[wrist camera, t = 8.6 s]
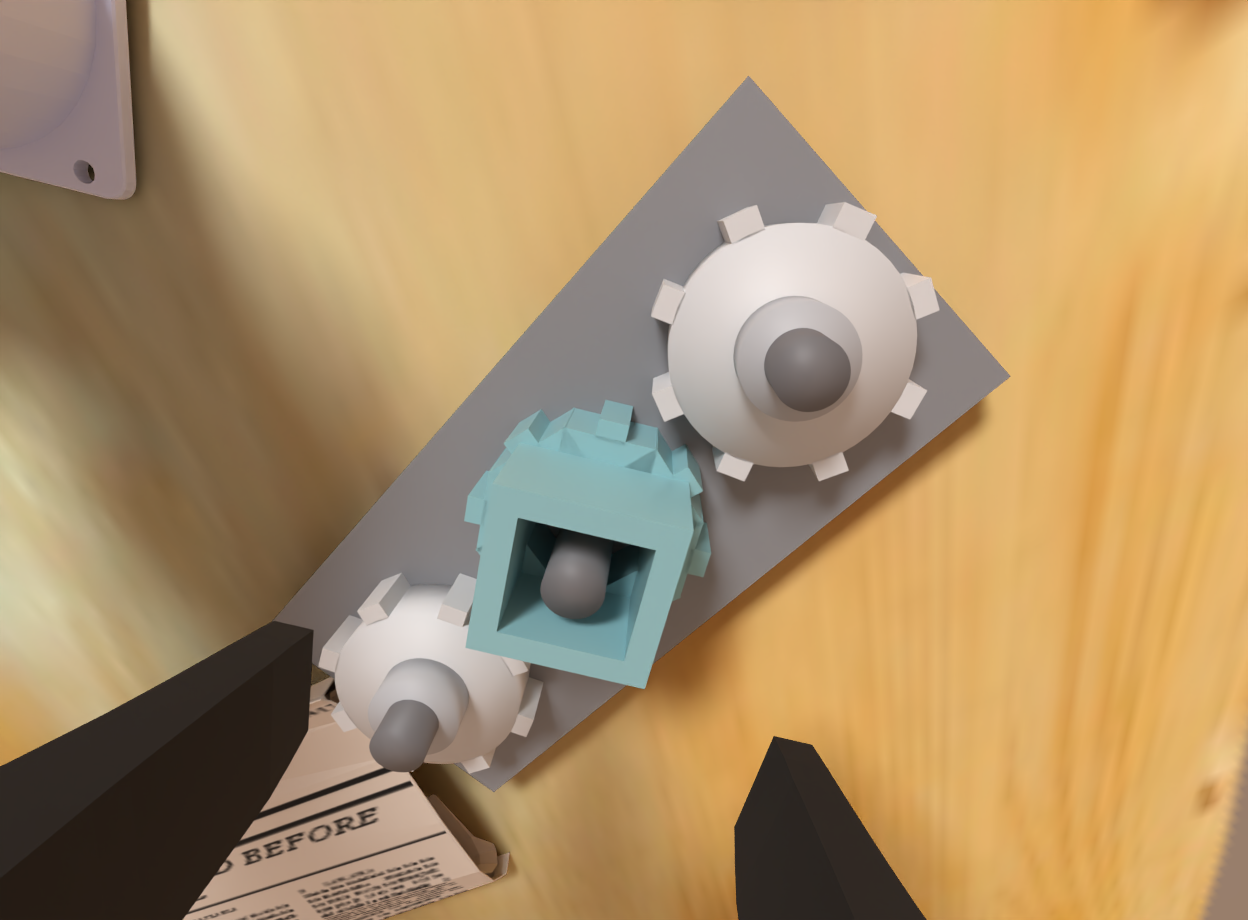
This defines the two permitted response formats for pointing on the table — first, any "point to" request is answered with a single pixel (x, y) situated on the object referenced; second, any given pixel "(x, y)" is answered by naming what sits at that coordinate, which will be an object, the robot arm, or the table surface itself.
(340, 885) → the newspaper
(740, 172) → the gear board
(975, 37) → the table surface
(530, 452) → the teal gear
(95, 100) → the robot arm
